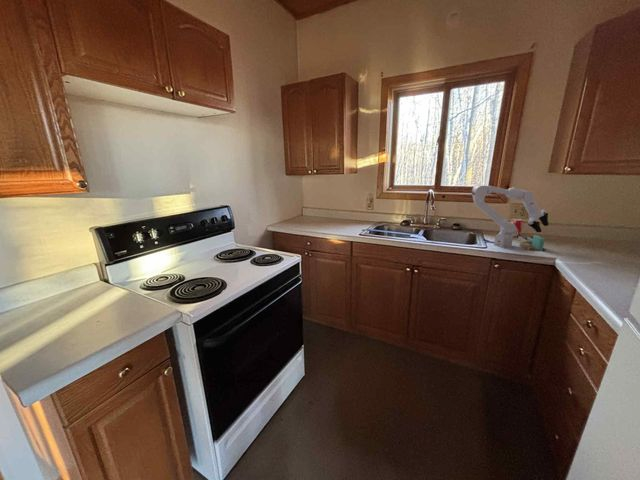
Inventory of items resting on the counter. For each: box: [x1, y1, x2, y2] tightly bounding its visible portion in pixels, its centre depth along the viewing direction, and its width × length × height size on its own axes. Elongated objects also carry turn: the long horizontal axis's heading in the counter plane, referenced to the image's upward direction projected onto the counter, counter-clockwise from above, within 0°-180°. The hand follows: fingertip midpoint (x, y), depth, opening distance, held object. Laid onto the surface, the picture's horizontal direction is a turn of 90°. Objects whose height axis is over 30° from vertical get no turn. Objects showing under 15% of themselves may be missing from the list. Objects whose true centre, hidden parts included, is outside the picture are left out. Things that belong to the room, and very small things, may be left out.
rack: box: [519, 244, 547, 252], centre depth 162 cm, size 10×10×2 cm
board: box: [532, 234, 545, 252], centre depth 161 cm, size 2×9×7 cm, turn 164°
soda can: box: [510, 218, 524, 238], centre depth 192 cm, size 7×7×12 cm
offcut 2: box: [522, 243, 531, 251], centre depth 161 cm, size 2×4×3 cm, turn 164°
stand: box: [517, 236, 533, 245], centre depth 174 cm, size 6×12×3 cm, turn 164°
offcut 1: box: [519, 240, 527, 249], centre depth 165 cm, size 2×4×4 cm, turn 164°
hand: (542, 228), depth 162 cm, fingers open, 7 cm apart
